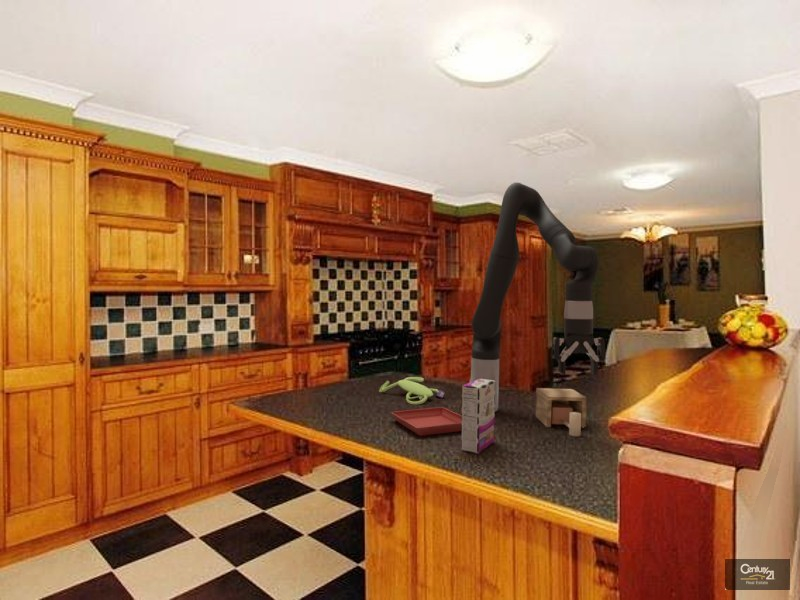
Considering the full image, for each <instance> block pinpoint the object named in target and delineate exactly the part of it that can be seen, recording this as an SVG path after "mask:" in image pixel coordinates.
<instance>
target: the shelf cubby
mask: <svg viewBox="0 0 800 600" xmlns="http://www.w3.org/2000/svg"><path fill="white" fill-rule="evenodd" d="M535 389H536V390H535V415H534V416H535V417H536V418H537V419H538V420H539V421H540V422H541V423H542V424H543V425H544V426H545V427H546V428H551V427H552V423H551V406H552V403H566V404H568V405H569V406H570V407H572V408H573V412H577V413H581V427H582V428H581V429H585V428H584V427H586V424H587V423H586V422H587V400H588V399H587V397H586V396H585V395H583V394H581V393H579V392H578V391H576V390H575V389H573V388H548V387H546V388H545V387H544V388H543V387H540V388H539V387H536V388H535Z"/></svg>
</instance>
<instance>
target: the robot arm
mask: <svg viewBox="0 0 800 600" xmlns="http://www.w3.org/2000/svg"><path fill="white" fill-rule="evenodd" d="M519 215H520V216H523V217H526V218H527V219H528V220H530V221H532V222H533V223H534V224H535V225H536V226H537V228H538V231H539V234H540V236H541V238H542V239H543V240H544V242H545V243H546V244H547V245H548V246H549V247H550V248H551V249H552V250H553V252H554V254H555V257H556V259H557V261H558V263H559V265H560V266H561V267H562V268H564V269H565V270H567V271H573V272H574V271H575V272H576V275H575V277H574V279H570V280H568V281H567V282H566V284H565V303H564V304H565V305H564V313H563V315H564V316H563V317H564V320H563V321H564V327H563V328H564V329H563V331H564V333H563V334H564V336H563V337H562V338H561V337H560V338H559V337H556V336H555V337H553V338H552V347H551V358H552V359H555V360H556V361H558V369H557V371H558V372H559V373H560V375H562V376H566V367H567V366H566V365H567V364H566V360H567V359H568V358H569V356H571V355H572V354H586V355H588V357H589V359H590V371H589V372H590V375H592V376H596V375H597V374H598V373H599V362H600V361H602V360H606V342H605V340H606V339H605V338H603V337H596V338H594V336H593V335H594V305H593V286H594V282H595V279H596V275H597V271H598V268H599V263H600V262H599V261H600V258H599V254H598V252H597V250H596V249H595V248H594V247H592V246H589V245H588V246H587V245H575V244H576V242H577V241H576V240H577V239H576V236H575V235H574V234H573V232H572V231H571V230H570V229H569V228H568V227H567V226H566V225H565V224H564V223H563V222H561V220H560V219H559V218H557V216H556V215H555V214H554V213H553V212H552V210H551V209H550V208H549V207H548V205H547V204H546V202H545V201H544V199H543V197H542V196H541V195H540V193H539V192H538V190H536V189H535V188H533V187H531V186H528V185H525V184H523V183H521V182H517V181H516V182H513V183H511V184H510V185H509V186H508V187H507V188H506V189H505V191H504V194H503V197H502V202H501V207H500V211H499V219H498V224H497V230H496V233H495V237H494V241H493V244H492V245H493V246H492V248H491V252H490V254H489V259H488V263H487V267H486V271H485V276H484V280H483V287H482V292H481V295H480V299H479V302H478V304H477V306H476V310H475V311H474V314H473V317H472V319H471V325H470V326H471V329H472V332H473V335H472V348H471V357H470V358H471V361H470V362H471V365H470V378H469V383H470V382H472V381H475V380H477V379H488V380H494V381H495V412H497V411H498V410H499V388H500V387H499V386H500V385H499V384H500V383H499V381H500V356H501V355H500V354H501V342H502V340H501V337H502V336H501V335H502V322H501V320H502V319H501V314H502V308H503V306H504V305H503V304H504V300H505V298H506V295H507V294H508V291H509V289H510V287H511V285H512V282H513V279H514V276H515V274H516V270H517V266H518V264H519V260H520V248H519V242H518V237H517V235H518V234H517V224H518V219H519ZM562 344H564V346H565V347H564V348H563V349H562V351H561V353H560V346H561V347H562ZM594 344H595V346H596V349H597V350H596V351H597V352H595V350H594V349H593V348H592V346H594ZM596 353H597V354H596Z"/></svg>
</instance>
